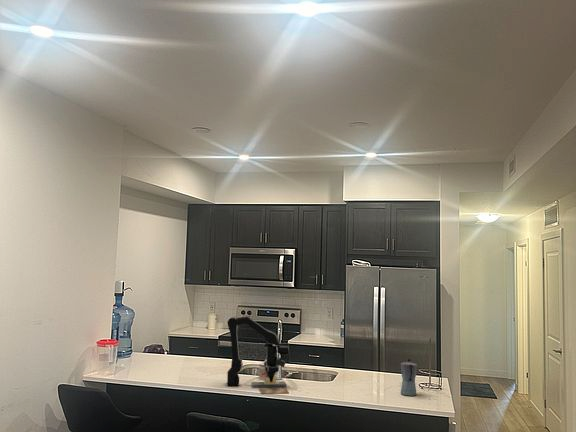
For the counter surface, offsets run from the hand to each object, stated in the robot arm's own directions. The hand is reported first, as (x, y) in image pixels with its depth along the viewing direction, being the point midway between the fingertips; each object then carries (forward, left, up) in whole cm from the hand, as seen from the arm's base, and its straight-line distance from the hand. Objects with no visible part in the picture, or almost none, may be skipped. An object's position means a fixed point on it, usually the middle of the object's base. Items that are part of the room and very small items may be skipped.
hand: (270, 381), depth 318 cm
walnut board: (0, -12, -3) cm, 12 cm away
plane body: (-1, 0, -3) cm, 3 cm away
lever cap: (0, 0, -1) cm, 1 cm away
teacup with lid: (+2, +21, -3) cm, 21 cm away
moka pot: (+77, -24, -3) cm, 81 cm away
